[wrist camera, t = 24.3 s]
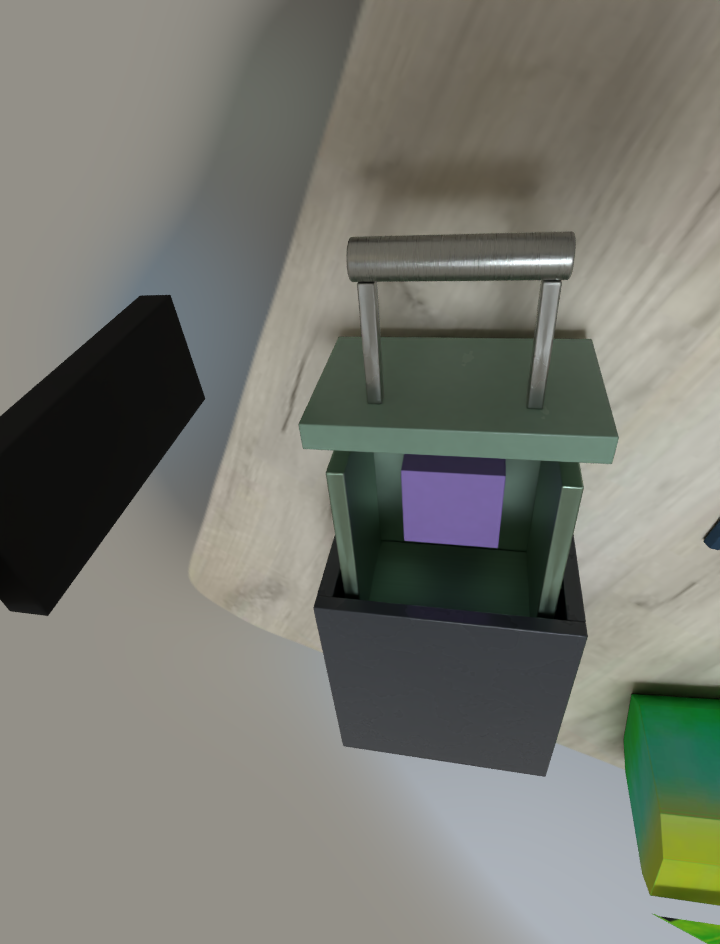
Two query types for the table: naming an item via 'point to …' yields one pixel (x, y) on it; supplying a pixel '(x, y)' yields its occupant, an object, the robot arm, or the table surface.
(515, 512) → the green drawer
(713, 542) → the pencil
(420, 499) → the purple cube
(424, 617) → the charcoal drawer box
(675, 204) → the table surface
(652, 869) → the apple
